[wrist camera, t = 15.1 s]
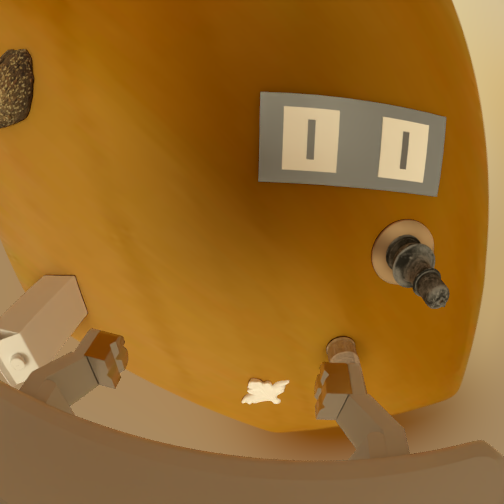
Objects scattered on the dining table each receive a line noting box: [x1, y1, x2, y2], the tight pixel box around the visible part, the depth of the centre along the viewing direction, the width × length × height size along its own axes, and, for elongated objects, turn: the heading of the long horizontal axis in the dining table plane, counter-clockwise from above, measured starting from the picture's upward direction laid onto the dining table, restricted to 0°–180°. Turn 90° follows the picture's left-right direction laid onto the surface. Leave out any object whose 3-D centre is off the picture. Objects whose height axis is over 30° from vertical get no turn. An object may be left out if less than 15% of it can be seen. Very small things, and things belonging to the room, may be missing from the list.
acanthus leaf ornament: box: [241, 378, 289, 404], centre depth 49 cm, size 8×7×2 cm
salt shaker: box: [386, 235, 449, 309], centre depth 31 cm, size 6×6×12 cm
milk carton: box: [0, 275, 87, 387], centre depth 35 cm, size 7×7×19 cm
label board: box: [258, 92, 446, 197], centre depth 31 cm, size 10×22×1 cm, turn 89°
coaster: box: [371, 219, 434, 284], centre depth 36 cm, size 9×9×1 cm
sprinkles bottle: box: [326, 337, 367, 394], centre depth 38 cm, size 5×5×14 cm
